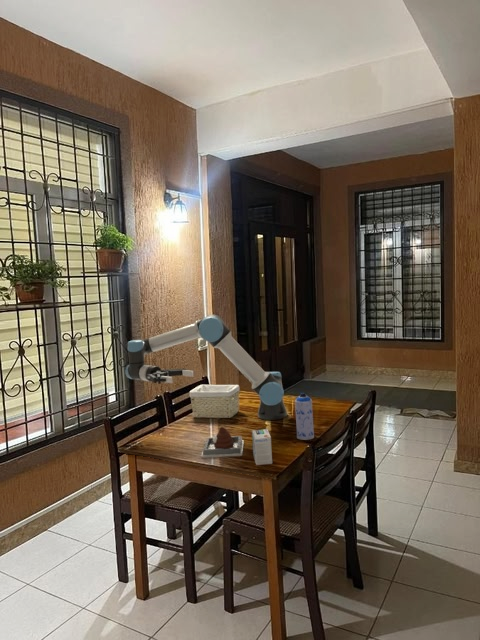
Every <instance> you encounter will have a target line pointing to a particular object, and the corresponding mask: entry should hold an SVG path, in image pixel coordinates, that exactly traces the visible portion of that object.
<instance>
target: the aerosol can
mask: <svg viewBox="0 0 480 640" xmlns="http://www.w3.org/2000/svg"><path fill="white" fill-rule="evenodd" d="M294 406H295V407H294V409H295V420H296V421H295V422H296V424H295V425H296V439H298V440H301V441H302V440H305V441H307V440H312V439H314V438H315V432H314V415H313V400H312V398H311V397H310V396H308V395H307V394H306V392H300V395H298V396H297V398H296V399H294Z"/></svg>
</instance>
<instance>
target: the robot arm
mask: <svg viewBox="0 0 480 640" xmlns="http://www.w3.org/2000/svg"><path fill="white" fill-rule="evenodd" d="M198 338H200V339H203V340H204V341H205V342H208V343H209V345H210V346H211V347H213V349H218V350H220V352H221V353H222V354H223V355H224V356H225V357H226V358H227V359H228V360H229V362H231V363H232V365H234V366H235V368H237V370H239V372H240V373H241V374H242V375H243V376H244V377H245V378H246V379H247V380H248V381H249V383H251V389H252V390H253V391H254V392H255V394H256V395H258V396H259V406H258V410H257V417H258V419H260V420H264V421H275V420H276V421H277V420H282V419H284V418H286V417H288V411H287V408H286V406H285V403H284V394H285V391H284V387H283V383H282V378H283V377H282V373H281V372H280V371H265V370H264V369H263V368H262V367H261V366H260V365H259V364H258V363H257V362H256V361H255V359H254V358H253V357H252V356H251V355H250V354H249V353H248V352H247V351H246V350H245V349H244V348H243V346H241V345H240V344H239V343H238V342H237V340H235V338H234V337H233V336H232V331H231V329H229V327H228V326H227V325H226V324H225V320H224V319H223V318H222V317H221V316H220V315H217V314H209V315H207V316H205V317H203V318H201V319H197V320H196V321H195V323H192V324H190V325H189V324H188V325H186V326H183V327H180V328H177V329H173V330H170V331H168V332H167V331H166V332H164V333H161V334H158V335H155V336H152V337H149V338H145V339H133V340H130V341H127V355H128V365H126V367H125V370H124V372H125V373H124V374H125V375H126V378H128V379H130V380H134V381H144V382H145V381H146V382H147V383H149V382H152V383H154V384H159V385H161V384H162V383H166V384H173V383H174V382H173V377H176V376H177V377H178V376H183V377H189V378H193V377H195V376H194V370H188V369H187V368H184V367H182V368H171V369H170V368H167V369H161V367H160V366H158V365H147V364H145V356H146V355H149V354H152V353H154V352H155V353H156V352H158V351H161V350H164V349H166V348H167V349H168V348H171V347H174V346H176V345H180V344H183V343H186V342H190V341H192V340H195V339H198Z"/></svg>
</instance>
